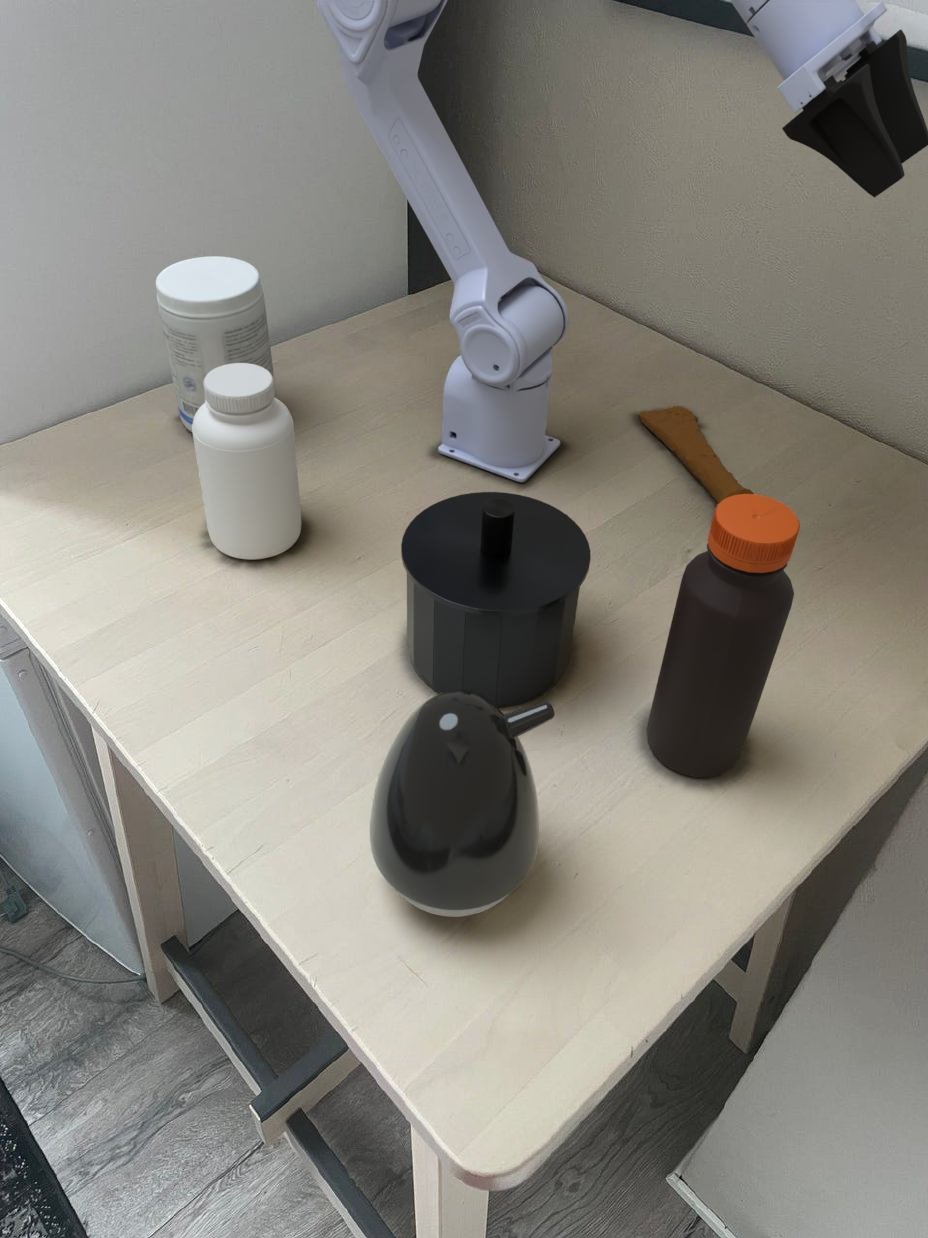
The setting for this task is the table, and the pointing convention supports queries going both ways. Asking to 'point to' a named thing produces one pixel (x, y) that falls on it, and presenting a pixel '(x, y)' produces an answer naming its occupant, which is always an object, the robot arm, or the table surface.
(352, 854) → the table surface
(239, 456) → the pill bottle
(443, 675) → the pot
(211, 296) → the supplement tub
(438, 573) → the pot lid
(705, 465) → the primitive tool
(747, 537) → the bottle
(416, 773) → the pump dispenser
